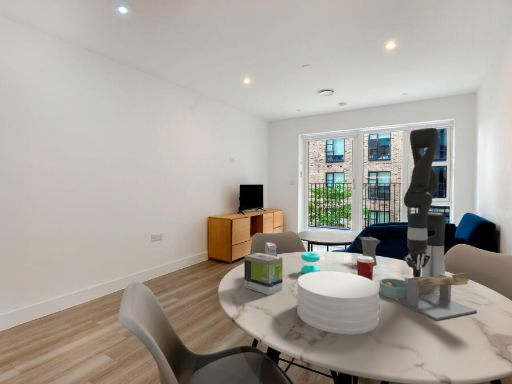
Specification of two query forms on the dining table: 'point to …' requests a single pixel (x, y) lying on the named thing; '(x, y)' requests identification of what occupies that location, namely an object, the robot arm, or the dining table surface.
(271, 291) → the tea box
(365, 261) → the paper cup
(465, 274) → the lever
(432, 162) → the robot arm
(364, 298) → the plate stack
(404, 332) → the dining table surface
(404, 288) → the bowl
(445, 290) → the stand
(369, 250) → the coffeepot
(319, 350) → the dining table surface
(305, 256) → the donuts
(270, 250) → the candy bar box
